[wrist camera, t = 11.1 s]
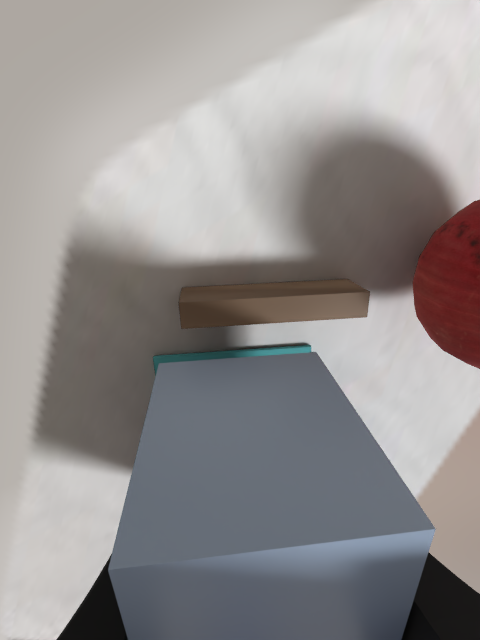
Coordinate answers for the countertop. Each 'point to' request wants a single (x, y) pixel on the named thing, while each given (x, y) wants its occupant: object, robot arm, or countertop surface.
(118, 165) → the countertop surface
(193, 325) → the brown cuboid
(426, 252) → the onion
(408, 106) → the countertop surface
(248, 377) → the matte gray cuboid
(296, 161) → the countertop surface
